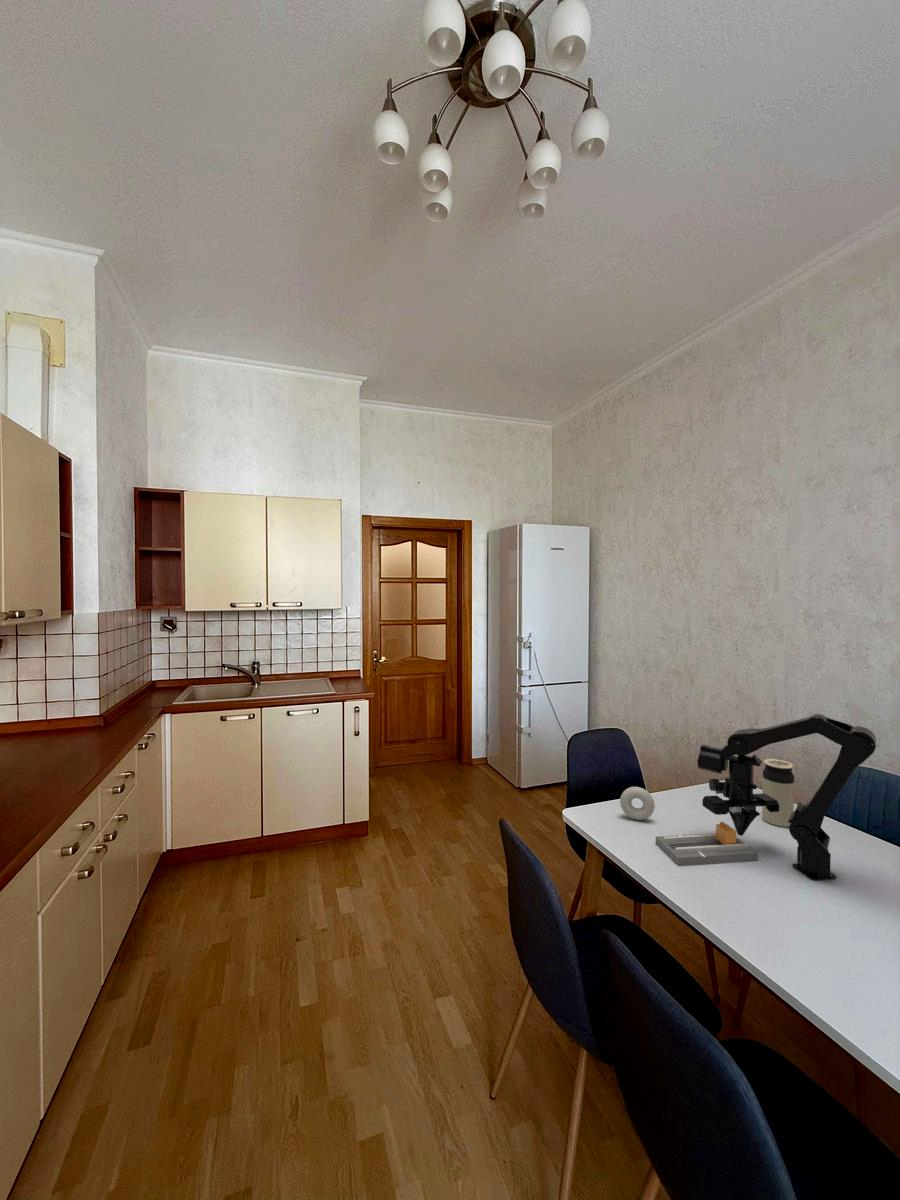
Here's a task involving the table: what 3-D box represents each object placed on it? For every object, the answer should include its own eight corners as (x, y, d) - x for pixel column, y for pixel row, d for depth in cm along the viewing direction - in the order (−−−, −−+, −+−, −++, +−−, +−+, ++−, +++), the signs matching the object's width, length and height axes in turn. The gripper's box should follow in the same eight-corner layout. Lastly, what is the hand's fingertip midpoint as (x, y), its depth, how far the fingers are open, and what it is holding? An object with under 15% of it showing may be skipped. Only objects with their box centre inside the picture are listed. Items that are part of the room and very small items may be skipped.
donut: (654, 819, 151) (654, 787, 151) (654, 824, 148) (655, 791, 148) (620, 814, 155) (620, 782, 155) (619, 819, 152) (619, 786, 151)
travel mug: (798, 828, 145) (799, 768, 145) (768, 826, 147) (769, 766, 147) (786, 816, 153) (786, 759, 153) (757, 814, 155) (758, 757, 154)
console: (758, 861, 128) (758, 849, 128) (678, 866, 126) (679, 854, 125) (728, 838, 139) (728, 828, 139) (655, 843, 137) (655, 832, 137)
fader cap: (736, 845, 131) (736, 828, 131) (725, 846, 131) (725, 829, 131) (726, 838, 135) (726, 821, 135) (715, 838, 135) (716, 822, 135)
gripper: (751, 766, 142) (750, 819, 143) (690, 768, 140) (690, 822, 141) (781, 780, 131) (780, 838, 132) (715, 783, 129) (715, 842, 130)
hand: (740, 834), depth 134 cm, fingers closed
